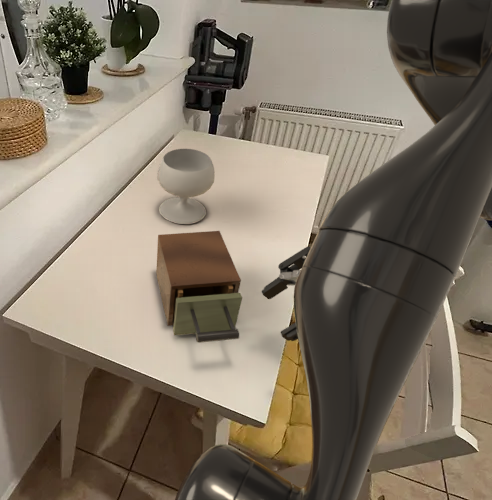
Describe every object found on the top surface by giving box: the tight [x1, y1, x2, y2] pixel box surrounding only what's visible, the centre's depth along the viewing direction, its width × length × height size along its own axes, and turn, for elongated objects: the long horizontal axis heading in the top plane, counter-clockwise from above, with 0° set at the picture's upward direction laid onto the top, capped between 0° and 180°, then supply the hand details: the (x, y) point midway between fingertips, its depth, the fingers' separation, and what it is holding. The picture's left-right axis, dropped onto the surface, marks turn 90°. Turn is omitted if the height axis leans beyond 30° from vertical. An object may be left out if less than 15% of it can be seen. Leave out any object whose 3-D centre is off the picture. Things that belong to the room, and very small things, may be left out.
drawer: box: [172, 285, 243, 343], centre depth 80 cm, size 20×12×9 cm, turn 7°
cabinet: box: [155, 230, 242, 327], centre depth 85 cm, size 15×13×11 cm
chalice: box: [156, 148, 216, 225], centre depth 107 cm, size 14×14×15 cm
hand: (273, 315), depth 68 cm, fingers open, 8 cm apart
